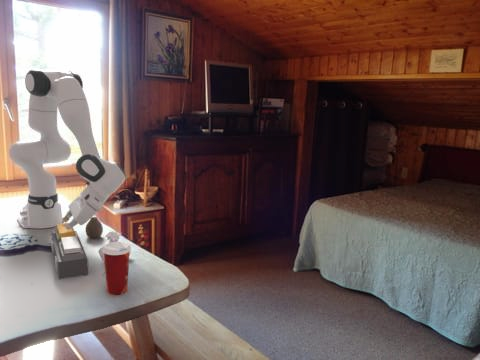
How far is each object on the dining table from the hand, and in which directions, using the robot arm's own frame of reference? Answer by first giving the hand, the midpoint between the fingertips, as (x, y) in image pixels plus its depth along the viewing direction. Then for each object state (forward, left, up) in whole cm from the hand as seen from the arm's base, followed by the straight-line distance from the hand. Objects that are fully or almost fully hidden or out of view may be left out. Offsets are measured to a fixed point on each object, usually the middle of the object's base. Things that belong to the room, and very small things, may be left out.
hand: (65, 224), depth 152 cm
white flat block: (+16, -6, -3) cm, 17 cm away
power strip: (+8, -3, -11) cm, 14 cm away
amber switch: (0, 0, -3) cm, 3 cm away
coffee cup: (+40, -3, -11) cm, 42 cm away
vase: (-8, +16, -11) cm, 21 cm away
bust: (+17, +10, -11) cm, 23 cm away
